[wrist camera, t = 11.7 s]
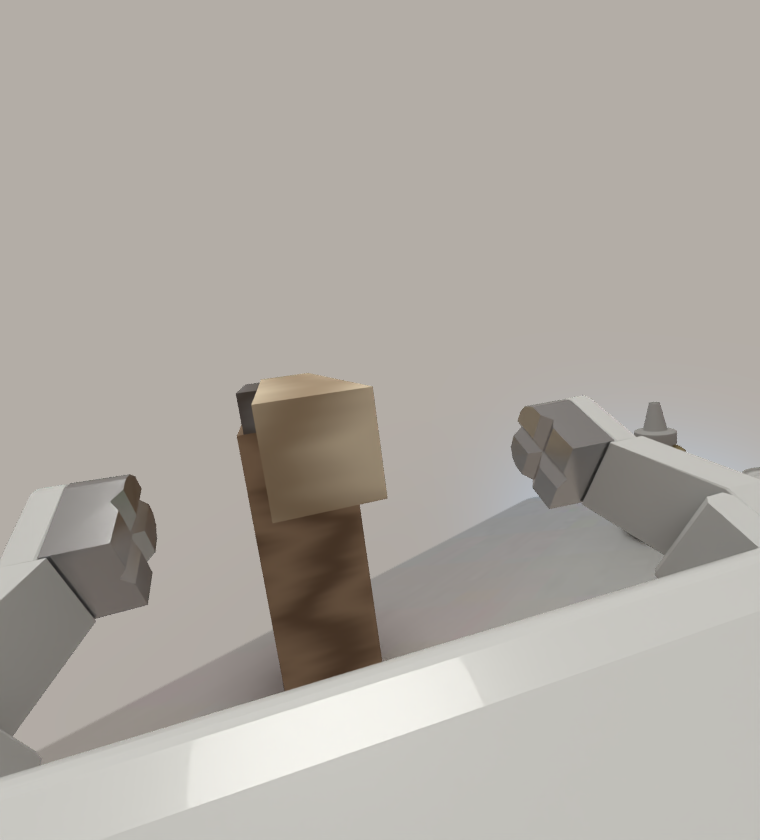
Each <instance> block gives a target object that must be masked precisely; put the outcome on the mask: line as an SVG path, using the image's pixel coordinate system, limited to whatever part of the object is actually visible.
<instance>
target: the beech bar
mask: <svg viewBox="0 0 760 840" xmlns="http://www.w3.org/2000/svg"><path fill="white" fill-rule="evenodd" d="M251 406H252V411H253V417H254V422H255V428H256V434H257V439H258V445H259V450H260V456H261V461H262V467H263V473H264V478H265V484H266V489H267V495H268V500H269V506H270V511H271V517H272V523H277V522H281V521H286V520H290V519H295V518H300V517H304V516H309V515H314V514H318V513H323V512H327V511H332V510H337V509H341V508H346V507H350V506H355V505H360V504H364V503H369V502H374V501H378V500H383V499H387V491H386V483H385V475H384V468H383V460H382V453H381V445H380V438H379V430H378V423H377V415H376V408H375V400H374V393H373V387H372V386H368V385H363V384H358V383H353V382H348V381H344V380H338V379H334V378H329V377H324V376H319V375H314V374H310V373H306V374H298V375H290V376H284V377H276V378H270V379H262V380H261V381H260V384H259V386H258V389H257V392H256V394H255V397H254V399H253V402H252V404H251Z"/></svg>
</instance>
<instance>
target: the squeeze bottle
mask: <svg viewBox="0 0 760 840" xmlns="http://www.w3.org/2000/svg"><path fill="white" fill-rule="evenodd" d="M634 435H635V436H636V437H639V436H644V437H647V438H649V439H652V440H655V441H657V442H660V443H663V444H665V445H668V446H671V447H673V448H676V449H679V450H682V451H684V452H686V450H685V449H683V448H682V447H680V446H678V445H676V443H677V431H676V430H674V429H671V428H667V427H666V423H665V420H664V416H663V412H662V409H661V405H660V403H659V402H651V403H649V406H648V410H647V415H646V420H645V423H644V428H641V429H637V430H635V432H634Z"/></svg>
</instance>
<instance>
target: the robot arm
mask: <svg viewBox="0 0 760 840" xmlns="http://www.w3.org/2000/svg"><path fill="white" fill-rule="evenodd" d="M518 422H519V424H520V425H521V428H520V429H519V431H518V432H517V433H516V434H515V435H514V437H513V441H512V445H511V450H512V456H513V460H514V462H515V464H516V466H517V468H518V469H519V471H520V472H521V473H522V474H523V475H525V476H527V477H529V478H531V479H533V489H534V490H535V492H536V493H537V494H538V495H539V497H540V498H541V499H542V501H543V502H544V503H545V504H546V506H547V507H548V508H549V509H552V508H557V507H562V506H567V505H571V504H576V503H581V502H583V503H582V505H584V506H586V507H587V508H589V509H591V510H592V511H594V512H595V513H597V514H599V515H600V516H602V517H604V518H605V519H607V520H608V521H610V522H612V523H613V524H615V525H616V526H618V527H620V528H621V529H623V530H625V531H626V532H628V533H629V534H631V535H633V536H634V537H636V538H638V539H639V540H641V541H642V542H644V543H646V544H647V545H649V546H650V547H652V548H654V549H655V550H657V551H659V552H660V553H662V554H663V555H665V556H664V557H663V558H662V560H661V561H660V563H659V564H658V565H657V567H656V568H655V576H656V577H657V578H658V579H654V580H651V581H648V582H644V583H641V584H638V585H635V586H631V587H628V588H625V589H621V590H618V591H615V592H611V593H608V594H605V595H601V596H598V597H595V598H591V599H588V600H585V601H582V602H578V603H575V604H572V605H568V606H565V607H562V608H558V609H555V610H552V611H548V612H545V613H542V614H539V615H535V616H532V617H529V618H525V619H522V620H519V621H515V622H512V623H509V624H505V625H502V626H499V627H496V628H492V629H489V630H486V631H482V632H479V633H476V634H472V635H469V636H466V637H462V638H459V639H456V640H453V641H449V642H446V643H443V644H439V645H436V646H433V647H429V648H426V649H423V650H419V651H416V652H413V653H410V654H406V655H403V656H400V657H396V658H393V659H390V660H386V661H383V662H380V663H377V664H373V665H370V666H367V667H363V668H360V669H357V670H353V671H350V672H347V673H344V674H340V675H337V676H334V677H330V678H327V679H324V680H320V681H317V682H314V683H311V684H307V685H304V686H301V687H297V688H294V689H291V690H287V691H284V692H281V693H278V694H274V695H271V696H268V697H264V698H261V699H258V700H254V701H251V702H248V703H245V704H241V705H238V706H235V707H231V708H228V709H225V710H221V711H218V712H215V713H212V714H208V715H205V716H202V717H198V718H195V719H192V720H188V721H185V722H182V723H179V724H175V725H172V726H169V727H165V728H162V729H159V730H155V731H152V732H149V733H146V734H142V735H139V736H136V737H132V738H129V739H126V740H122V741H119V742H116V743H113V744H109V745H106V746H103V747H99V748H96V749H93V750H89V751H86V752H83V753H79V754H76V755H73V756H70V757H66V758H63V759H60V760H56V761H53V762H50V763H46V764H43V765H40V764H41V760H42V758H41V757H40V756H39V754H38V753H37V752H36V751H34V750H33V749H31V748H30V747H28V746H26V745H25V744H23V743H22V742H20V741H18V740H17V739H15V738H14V737H12V736H13V735H14V734H15V732H16V731H17V729H18V728H19V726H20V725H21V724H22V722H23V721H24V720H25V718H26V717H27V716H28V714H29V713H30V711H31V710H32V709H33V707H34V706H35V705H36V703H37V702H38V700H39V699H40V698H41V696H42V694H43V693H44V692H45V691H46V689H47V688H48V687H49V685H50V684H51V682H52V681H53V680H54V678H55V677H56V676H57V674H58V673H59V671H60V670H61V668H62V667H63V666H64V665H65V663H66V662H67V660H68V659H69V658H70V656H71V655H72V654H73V652H74V651H75V650H76V648H77V647H78V645H79V644H80V643H81V641H82V640H83V638H84V637H85V636H86V634H87V633H88V632H89V630H90V629H91V627H92V626H93V625H94V623H95V622H96V621H95V619H96V618H100V617H104V616H107V615H111V614H115V613H119V612H123V611H126V610H130V609H134V608H137V607H142V606H145V605H148V600H149V593H150V585H151V579H152V571H151V569H150V567H149V565H148V563H147V561H148V560H149V559H150V558H151V557H152V555H153V554H154V553H155V550H156V542H157V534H156V523H155V519H154V515H153V512H152V510H151V508H150V506H149V504H147V503H145V502H142V501H141V500H139V499H140V493H141V487H140V485H139V483H138V481H137V480H136V478H135V476H132V475H123V476H116V477H109V478H103V479H96V480H89V481H83V482H76V483H70V484H69V485H60V486H54V487H47V488H41V489H37V490H36V491H34V492H33V493H32V494H31V495H30V496H29V498H28V500H27V503H26V505H25V507H24V509H23V511H22V513H21V515H20V517H19V519H18V522H17V524H16V526H15V528H14V530H13V532H12V534H11V537H10V539H9V541H8V543H7V545H6V547H5V549H4V551H3V554H2V556H1V558H0V840H760V479H757V478H754V477H752V476H749V475H746V474H744V473H741V472H738V471H736V470H733V469H730V468H727V467H725V466H722V465H719V464H717V463H714V462H711V461H708V460H706V459H703V458H700V457H698V456H695V455H692V454H690V453H687V452H684V451H682V450H679V449H676V448H673V447H671V446H668V445H665V444H663V443H660V442H657V441H655V440H652V439H649V438H647V437H644V436H639V437H636V436H635V435H633V434H632V433H631V432H630V431H629V430H628V429H626V428H625V427H624V426H623V425H622V424H621V423H619V422H618V421H617V420H616V419H615V418H613V417H612V416H611V415H610V414H609V413H607V412H606V411H605V410H604V409H603V408H602V407H600V406H599V405H598V404H597V403H596V402H595V401H593V400H592V399H591V398H589V397H586V396H583V395H582V396H577V397H572V398H567V399H563V400H558V401H552V402H547V403H541V404H536V405H530V406H525V407H524V408H523V409H522V411H521V412H520V415H519V418H518Z"/></svg>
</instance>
